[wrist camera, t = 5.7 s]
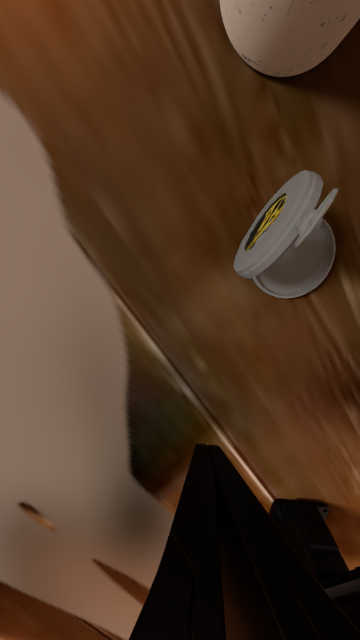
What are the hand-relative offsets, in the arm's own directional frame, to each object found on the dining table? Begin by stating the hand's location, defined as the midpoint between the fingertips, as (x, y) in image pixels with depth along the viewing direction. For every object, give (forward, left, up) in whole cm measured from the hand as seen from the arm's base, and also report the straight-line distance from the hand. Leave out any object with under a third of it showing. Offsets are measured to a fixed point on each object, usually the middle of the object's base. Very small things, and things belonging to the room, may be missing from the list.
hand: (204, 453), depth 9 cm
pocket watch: (+8, -6, -13) cm, 17 cm away
